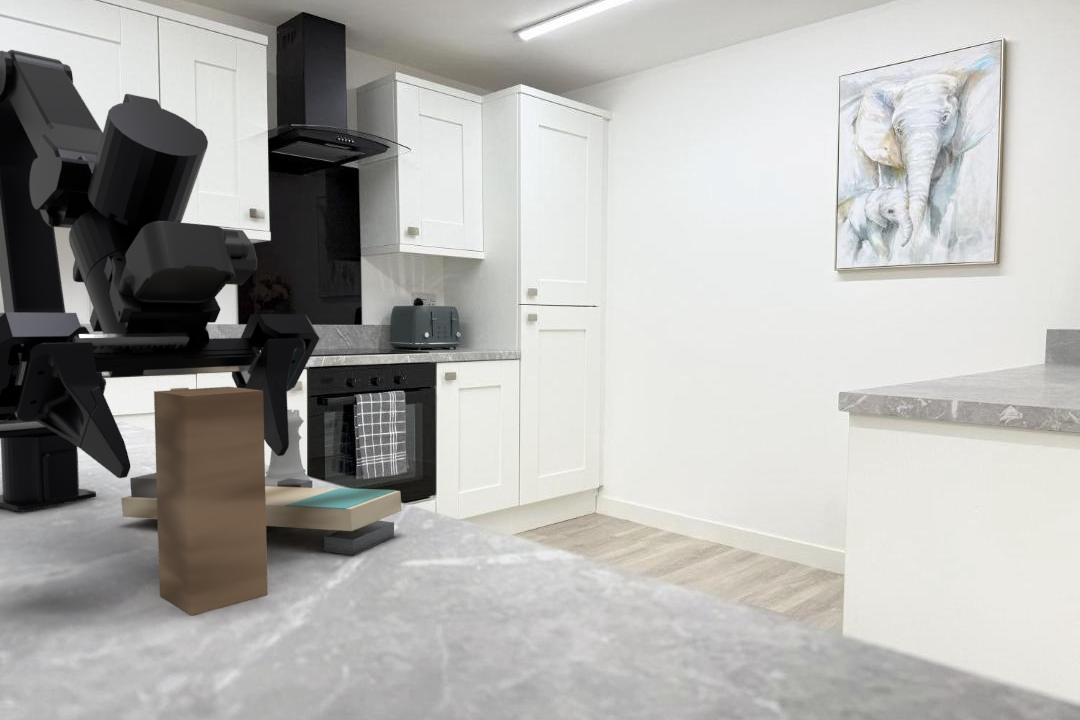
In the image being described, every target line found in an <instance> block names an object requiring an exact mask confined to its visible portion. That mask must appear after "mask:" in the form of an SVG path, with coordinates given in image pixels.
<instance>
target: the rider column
mask: <svg viewBox="0 0 1080 720" xmlns="http://www.w3.org/2000/svg"><path fill="white" fill-rule="evenodd" d="M153 400H154V403H153V404H154V406H153V407H154V438H155V440H154V442H155V473H156V481H157V516H158V519H157V541H158V543H157V544H158V545H157V547H158V549H157V550H158V575H159V576H158V577H159V578H158V579H159V580H158V581H159V583H158V584H159V586H158V587H159V597H160V598H161V599H164V601H167V602H168V603H170V604H171V605H173V606H174V607H176V608H179V609H180V610H182V611H183V612H185V613H187V614H188V615H190V616H191V617H192V616H195V615H199V614H202V613H203V614H204V613H206V612H211V611H212V610H216V609H220V608H224V607H228V606H231V605H235V604H239V603H241V602H245V601H249V600H252V599H256V598H259V597H263V596H266V595H268V563H267V562H268V557H267V556H268V555H267V553H268V552H267V551H268V549H267V526H266V498H265V477H266V463H265V462H266V461H265V456H266V455H265V440H264V405H263V391H262V390H253V389H245V388H237V387H236V386H234V387H233V386H218V387H202V388H201V387H200V388H189V389H188V388H186V389H172V390H171V389H170V390H157V391H155V390H154V391H153Z"/></svg>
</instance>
